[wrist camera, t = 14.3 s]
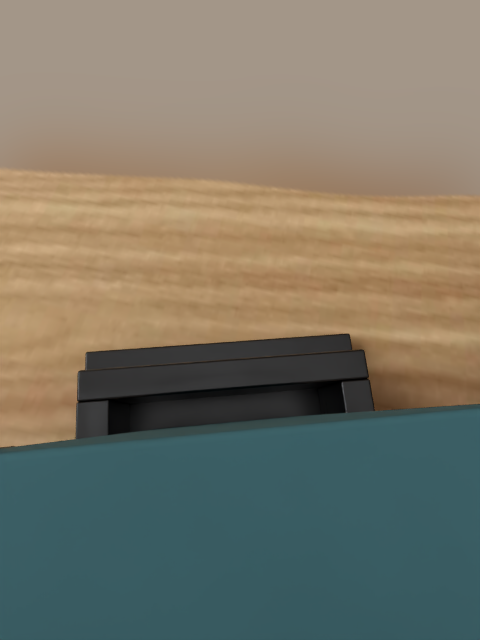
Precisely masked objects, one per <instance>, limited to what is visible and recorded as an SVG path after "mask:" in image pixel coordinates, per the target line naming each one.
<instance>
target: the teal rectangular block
mask: <svg viewBox="0 0 480 640" xmlns="http://www.w3.org/2000/svg"><path fill="white" fill-rule="evenodd" d="M0 640H480V404H473V405H458V406H443V407H428V408H413V409H398V410H383V411H368V412H353V413H338V414H323V415H308V416H293V417H282V418H272V419H261V420H250V421H239V422H228V423H217V424H207V425H196V426H185V427H174V428H163V429H153V430H145V431H138V432H130V433H122V434H114V435H106V436H98V437H90V438H82V439H74V440H66V441H58V442H50V443H42V444H34V445H26V446H18V447H10V448H2V449H0Z"/></svg>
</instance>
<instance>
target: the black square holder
mask: <svg viewBox="0 0 480 640" xmlns="http://www.w3.org/2000/svg"><path fill="white" fill-rule="evenodd" d="M368 377H369V375H368V369H367V363H366V358H365V352H364V350H362V349H360V350H352V345H351V339H350V334H334V335H320V336H306V337H292V338H278V339H264V340H250V341H236V342H222V343H208V344H194V345H180V346H165V347H151V348H137V349H123V350H109V351H95V352H87V353H86V359H85V370H80V371H78V384H77V401H78V403H77V408H76V439H82V438H90V437H98V436H106V435H114V434H122V433H130V432H138V431H145V430H153V429H163V428H174V427H185V426H196V425H207V424H217V423H228V422H239V421H250V420H261V419H272V418H282V417H293V416H308V415H323V414H338V413H353V412H368V411H375V409H374V403H373V397H372V392H371V386H370V380H369V379H367V378H368Z"/></svg>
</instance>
